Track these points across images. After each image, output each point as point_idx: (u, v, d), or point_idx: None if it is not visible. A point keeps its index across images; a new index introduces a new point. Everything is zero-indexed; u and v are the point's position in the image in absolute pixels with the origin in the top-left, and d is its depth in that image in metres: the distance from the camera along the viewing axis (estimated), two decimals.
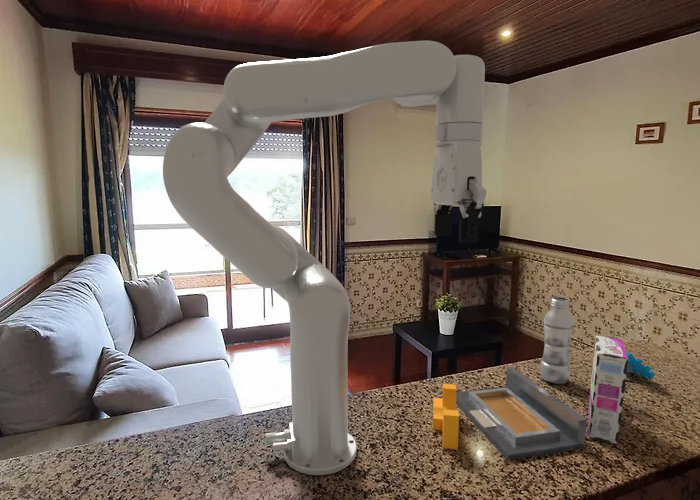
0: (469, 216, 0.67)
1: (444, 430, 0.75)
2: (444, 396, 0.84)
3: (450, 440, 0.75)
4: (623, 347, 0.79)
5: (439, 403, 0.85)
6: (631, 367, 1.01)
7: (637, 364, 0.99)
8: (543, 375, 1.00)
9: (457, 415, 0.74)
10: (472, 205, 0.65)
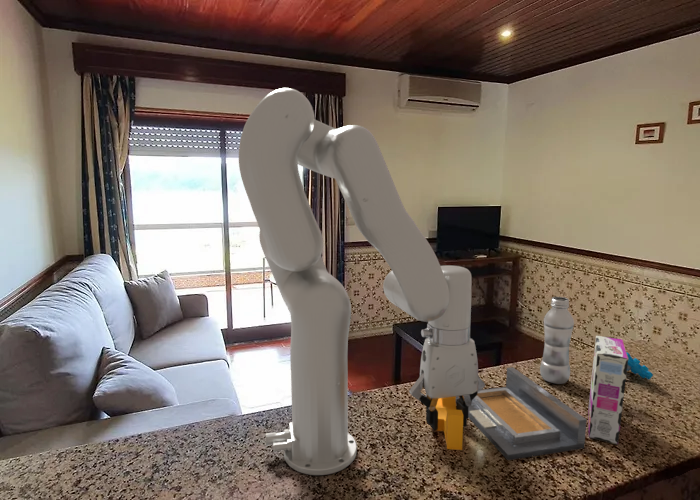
0: None
1: (449, 430, 0.74)
2: None
3: (454, 440, 0.75)
4: (623, 347, 0.79)
5: (438, 403, 0.84)
6: (629, 367, 1.01)
7: (635, 364, 0.99)
8: (543, 375, 1.00)
9: (461, 414, 0.74)
10: (476, 393, 0.81)
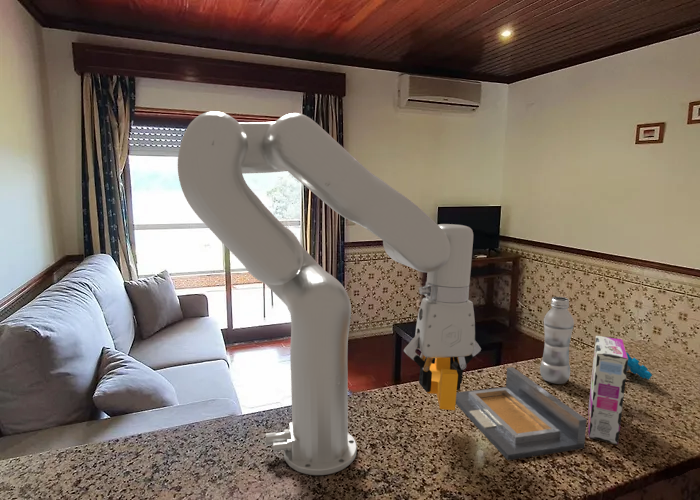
0: None
1: (442, 389, 0.73)
2: (438, 360, 0.82)
3: (448, 400, 0.73)
4: (623, 347, 0.79)
5: (432, 367, 0.83)
6: (628, 367, 1.01)
7: (634, 364, 0.99)
8: (543, 375, 1.00)
9: (456, 374, 0.73)
10: (471, 357, 0.79)
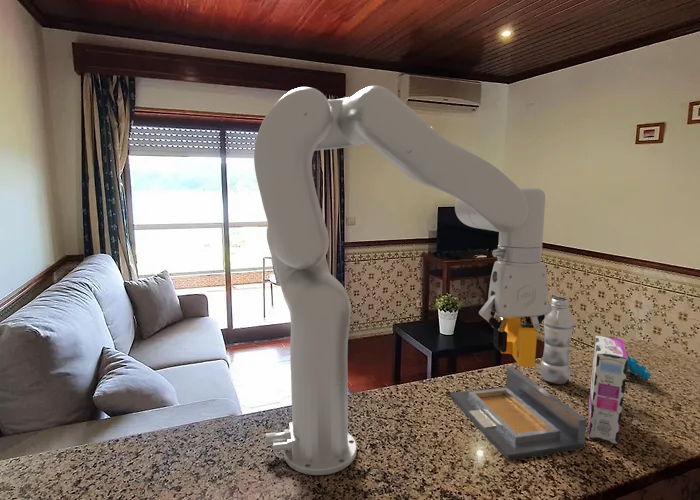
0: None
1: (522, 346, 0.75)
2: (508, 322, 0.84)
3: (527, 356, 0.75)
4: (623, 347, 0.79)
5: None
6: (627, 367, 1.01)
7: (632, 364, 0.99)
8: (543, 375, 1.00)
9: (535, 331, 0.75)
10: (543, 317, 0.81)
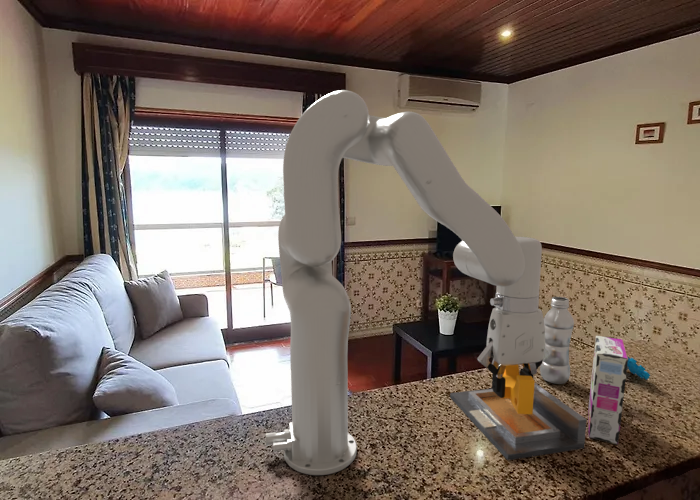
0: None
1: (520, 395, 0.77)
2: None
3: (525, 404, 0.77)
4: (623, 347, 0.79)
5: None
6: (627, 367, 1.01)
7: (632, 364, 0.99)
8: (543, 375, 1.00)
9: (532, 380, 0.76)
10: (541, 362, 0.83)
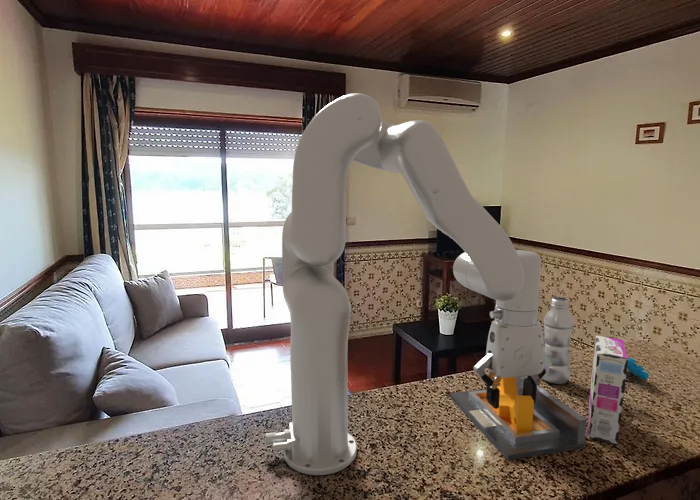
0: None
1: (519, 415, 0.77)
2: (505, 383, 0.87)
3: (525, 425, 0.77)
4: (623, 347, 0.79)
5: None
6: None
7: (630, 364, 0.99)
8: None
9: (532, 400, 0.77)
10: (544, 372, 0.83)
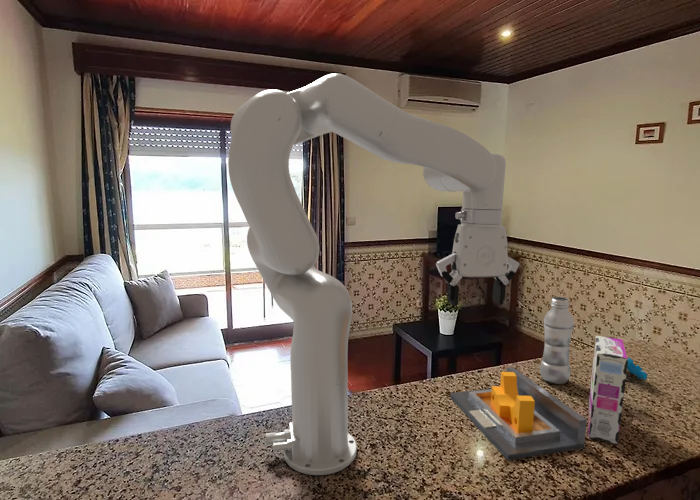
0: None
1: (520, 415, 0.77)
2: (505, 383, 0.86)
3: (525, 425, 0.77)
4: (623, 347, 0.79)
5: (500, 391, 0.87)
6: None
7: (629, 364, 0.99)
8: (543, 375, 1.00)
9: (532, 400, 0.77)
10: (513, 274, 0.86)
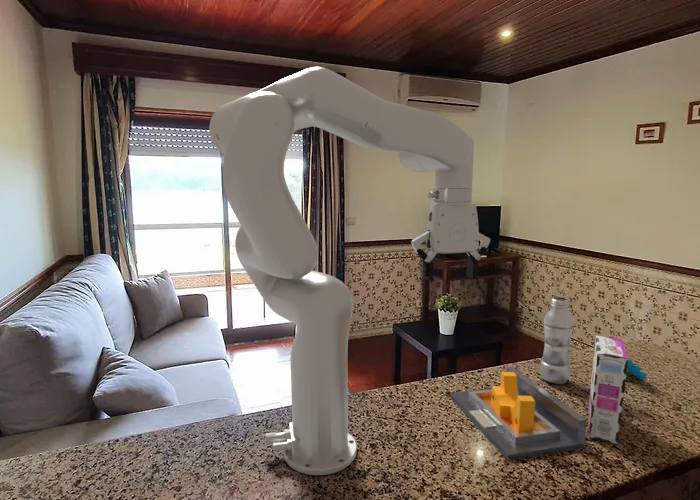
0: None
1: (520, 415, 0.77)
2: (505, 384, 0.86)
3: (526, 425, 0.77)
4: (623, 347, 0.79)
5: (500, 391, 0.87)
6: None
7: (628, 363, 0.99)
8: (543, 375, 1.00)
9: (533, 400, 0.77)
10: (485, 249, 0.90)
